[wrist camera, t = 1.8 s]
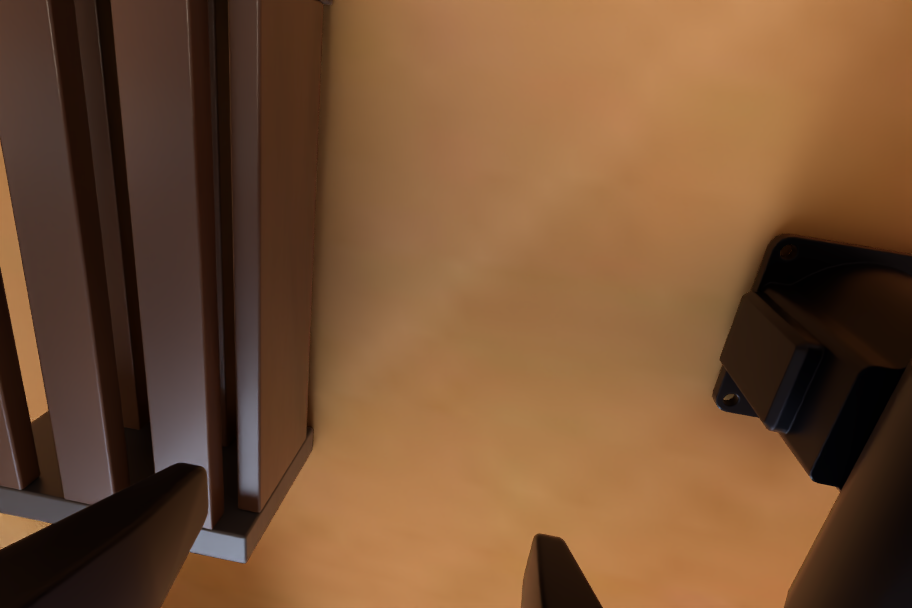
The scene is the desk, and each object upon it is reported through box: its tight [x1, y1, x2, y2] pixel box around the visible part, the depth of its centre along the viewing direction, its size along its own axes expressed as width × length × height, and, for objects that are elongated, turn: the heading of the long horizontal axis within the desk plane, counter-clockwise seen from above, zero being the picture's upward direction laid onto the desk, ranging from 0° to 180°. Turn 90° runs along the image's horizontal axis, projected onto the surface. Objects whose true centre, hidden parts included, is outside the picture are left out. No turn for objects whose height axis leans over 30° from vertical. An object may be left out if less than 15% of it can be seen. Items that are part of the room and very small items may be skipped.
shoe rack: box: [0, 0, 333, 563], centre depth 17 cm, size 10×18×6 cm, turn 172°
